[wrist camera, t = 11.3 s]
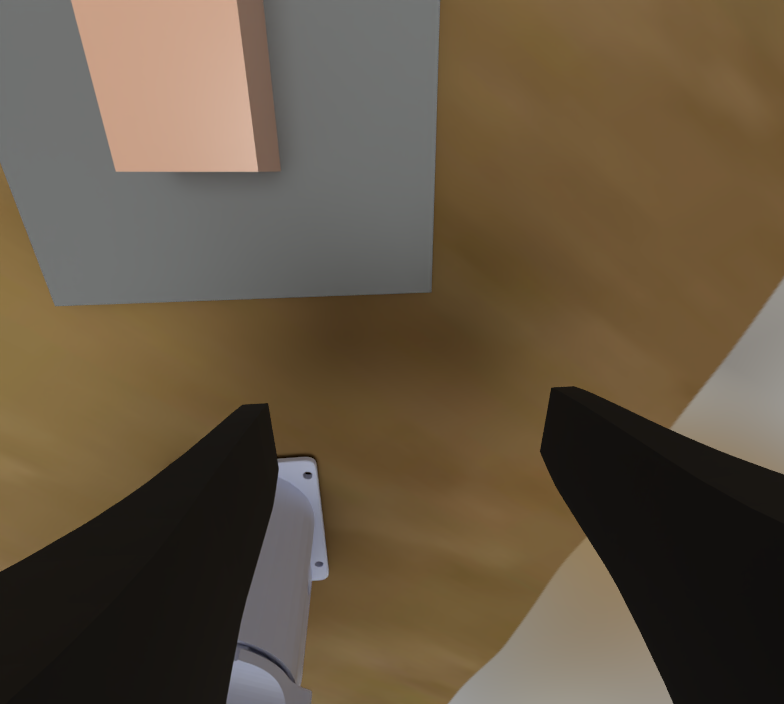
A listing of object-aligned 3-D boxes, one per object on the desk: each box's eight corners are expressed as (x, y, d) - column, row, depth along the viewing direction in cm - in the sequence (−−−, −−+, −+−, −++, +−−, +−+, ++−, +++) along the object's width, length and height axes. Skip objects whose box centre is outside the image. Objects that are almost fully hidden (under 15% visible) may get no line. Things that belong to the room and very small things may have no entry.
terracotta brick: (280, 171, 15) (258, 172, 12) (173, 171, 15) (115, 171, 11) (259, -33, 13) (222, -112, 9) (129, -38, 13) (38, -123, 9)
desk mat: (429, 288, 18) (431, 292, 18) (64, 301, 17) (54, 306, 17) (443, -239, 12) (447, -259, 11) (-149, -276, 11) (-176, -299, 10)
